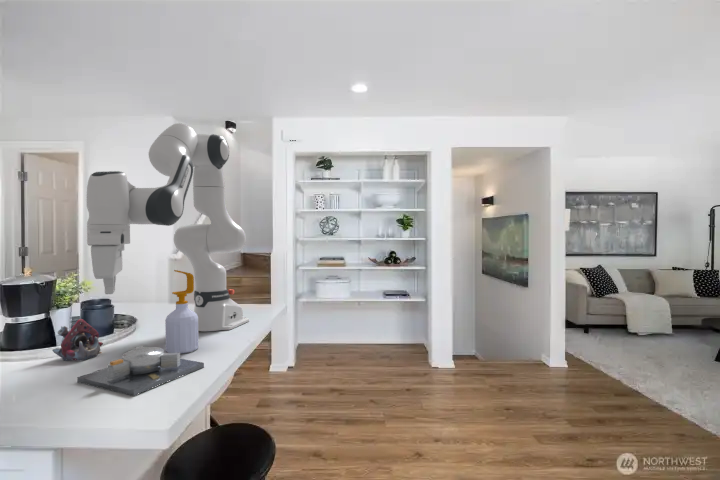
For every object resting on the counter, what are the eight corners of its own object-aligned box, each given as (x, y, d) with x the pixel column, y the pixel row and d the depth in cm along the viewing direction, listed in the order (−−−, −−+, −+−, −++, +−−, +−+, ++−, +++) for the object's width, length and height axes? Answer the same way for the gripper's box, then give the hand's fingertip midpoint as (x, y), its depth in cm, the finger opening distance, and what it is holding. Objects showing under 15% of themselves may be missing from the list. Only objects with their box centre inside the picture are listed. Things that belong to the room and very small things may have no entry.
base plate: (151, 357, 112) (151, 352, 112) (203, 367, 104) (203, 362, 104) (77, 382, 94) (77, 376, 94) (133, 396, 86) (133, 389, 86)
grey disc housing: (141, 358, 107) (140, 343, 107) (183, 365, 100) (182, 350, 100) (89, 374, 94) (89, 358, 94) (133, 384, 88) (133, 367, 88)
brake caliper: (80, 356, 106) (59, 320, 107) (56, 378, 108) (35, 341, 110) (116, 344, 117) (96, 311, 118) (93, 364, 119) (74, 332, 121)
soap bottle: (161, 350, 119) (160, 270, 119) (190, 343, 126) (190, 267, 125) (173, 356, 113) (171, 272, 113) (203, 349, 120) (202, 269, 119)
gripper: (100, 236, 103) (101, 288, 103) (85, 237, 85) (86, 301, 85) (128, 236, 106) (128, 287, 106) (119, 237, 87) (120, 298, 88)
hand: (110, 293), depth 95 cm, fingers closed
